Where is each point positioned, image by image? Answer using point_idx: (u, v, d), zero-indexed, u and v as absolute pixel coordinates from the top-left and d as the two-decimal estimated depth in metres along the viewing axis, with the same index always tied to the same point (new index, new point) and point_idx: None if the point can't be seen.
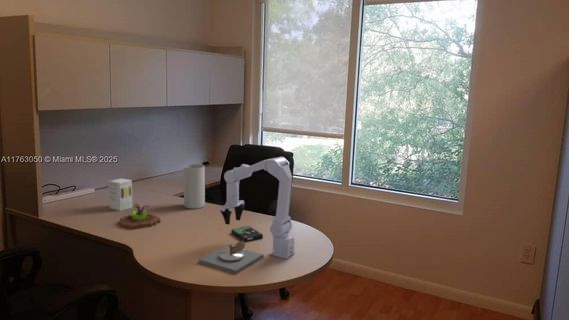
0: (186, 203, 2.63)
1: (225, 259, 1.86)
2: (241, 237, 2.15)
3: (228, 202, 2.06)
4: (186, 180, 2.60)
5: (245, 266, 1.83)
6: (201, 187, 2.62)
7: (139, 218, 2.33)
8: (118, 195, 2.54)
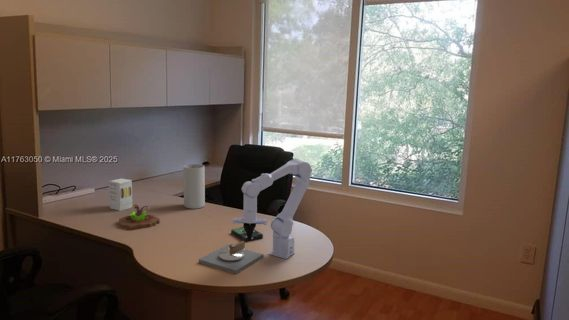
0: (186, 203, 2.63)
1: (225, 259, 1.86)
2: (241, 237, 2.15)
3: None
4: (186, 180, 2.60)
5: (245, 266, 1.83)
6: (201, 187, 2.62)
7: (138, 218, 2.32)
8: (118, 195, 2.54)
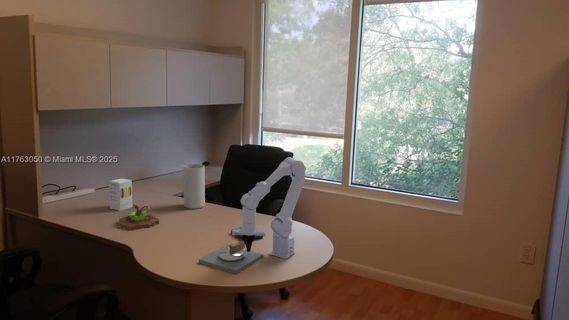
0: (186, 203, 2.63)
1: (225, 259, 1.86)
2: (241, 237, 2.15)
3: None
4: (186, 180, 2.60)
5: (245, 266, 1.83)
6: (201, 187, 2.62)
7: (138, 219, 2.31)
8: (118, 195, 2.54)
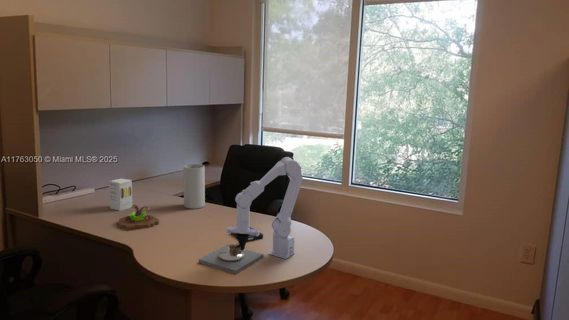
0: (186, 203, 2.63)
1: (225, 259, 1.86)
2: None
3: None
4: (186, 180, 2.60)
5: (245, 266, 1.83)
6: (201, 187, 2.62)
7: (137, 219, 2.31)
8: (118, 195, 2.54)
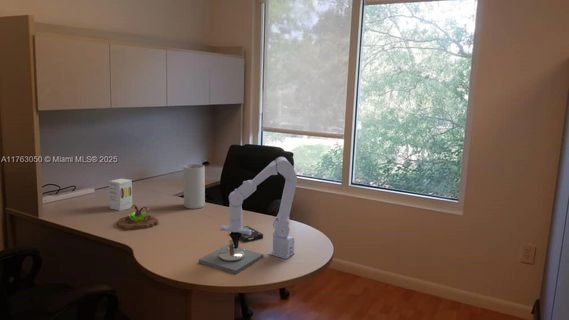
0: (186, 203, 2.63)
1: (234, 259, 1.86)
2: (242, 237, 2.15)
3: None
4: (186, 180, 2.60)
5: (245, 266, 1.83)
6: (201, 187, 2.62)
7: (136, 219, 2.31)
8: (118, 195, 2.54)
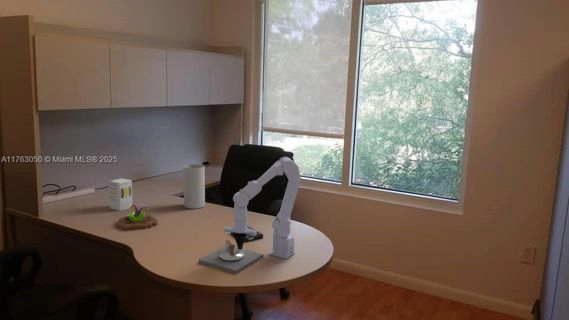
0: (186, 203, 2.63)
1: (236, 259, 1.86)
2: None
3: None
4: (186, 180, 2.60)
5: (245, 266, 1.83)
6: (201, 187, 2.62)
7: (135, 219, 2.30)
8: (118, 195, 2.54)
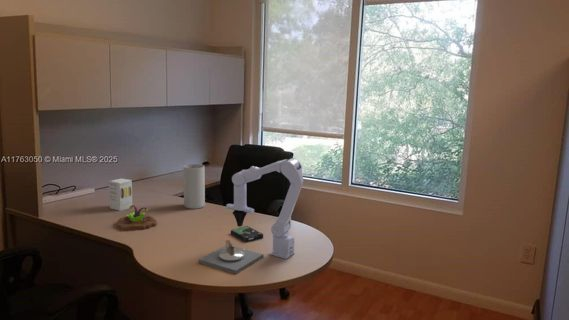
0: (186, 203, 2.63)
1: (236, 259, 1.86)
2: (242, 237, 2.15)
3: None
4: (186, 180, 2.60)
5: (245, 266, 1.83)
6: (201, 187, 2.62)
7: (134, 220, 2.30)
8: (118, 195, 2.54)
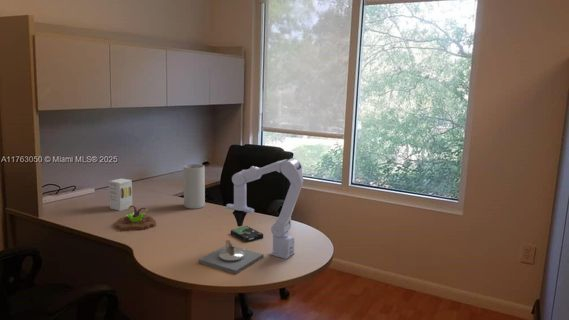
0: (186, 203, 2.63)
1: (236, 259, 1.86)
2: (242, 237, 2.15)
3: None
4: (186, 180, 2.60)
5: (245, 266, 1.83)
6: (201, 187, 2.62)
7: (133, 220, 2.29)
8: (118, 195, 2.54)
